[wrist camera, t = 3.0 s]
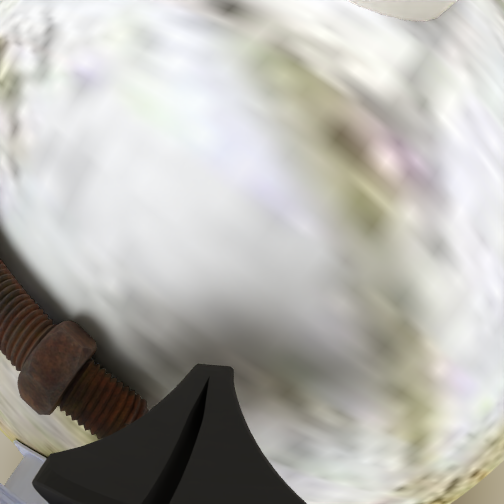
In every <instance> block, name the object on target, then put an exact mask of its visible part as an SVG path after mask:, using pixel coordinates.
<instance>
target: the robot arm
mask: <svg viewBox="0 0 504 504" xmlns="http://www.w3.org/2000/svg"><path fill="white" fill-rule="evenodd" d="M13 442H14V444H15V445H16V447H17V448H18V449H19V451H20V452H21V454H22V455H23V456H24V458H23V459H22V461H21V462H20V464H19V465H18V466H17V468H16V469H15V471H14V472H13V473H12V475H11V476H10V478H9V479H8V481H7V482H6V483H5V485H2V484H1V483H0V504H307V503H306V502H305V501H304V500H302V499H301V498H300V497H299V496H298V495H297V494H296V493H295V492H294V491H293V490H292V489H291V488H290V487H289V486H288V485H287V484H286V482H285V481H284V480H283V479H282V478H281V477H280V476H279V474H278V473H277V472H276V471H275V469H274V468H273V467H272V465H271V464H270V463H269V461H268V460H267V458H266V457H265V456H264V454H263V453H262V451H261V449H260V448H259V446H258V445H257V443H256V441H255V439H254V437H253V436H252V434H251V432H250V430H249V428H248V426H247V423H246V421H245V419H244V416H243V414H242V411H241V408H240V405H239V402H238V399H237V396H236V392H235V387H234V369H233V368H232V367H229V366H217V365H206V364H197V365H196V366H195V367H194V368H193V369H192V370H191V371H190V373H189V374H188V375H187V376H186V377H185V378H184V379H183V380H182V381H181V382H180V384H179V385H178V386H177V387H176V388H175V389H174V390H172V391H171V392H170V393H169V394H168V395H167V396H166V397H165V398H164V399H163V400H162V401H161V402H159V403H158V404H157V405H156V406H155V407H153V408H152V409H151V410H150V411H148V412H147V413H146V414H144V415H143V416H142V417H140V418H139V419H137V420H136V421H134V422H133V423H131V424H129V425H128V426H126V427H124V428H123V429H121V430H119V431H117V432H115V433H113V434H111V435H109V436H107V437H105V438H102V439H100V440H98V441H95V442H93V443H90V444H87V445H84V446H81V447H78V448H74V449H70V450H66V451H62V452H57V453H52V454H50V455H49V457H48V458H45V457H44V456H42V455H40V454H38V453H36V452H35V451H33V450H31V449H30V448H28V447H26V446H25V445H23V444H22V443H20V442H18V441H17V440H14V441H13Z"/></svg>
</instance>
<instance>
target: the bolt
mask: <svg viewBox="0 0 504 504" xmlns="http://www.w3.org/2000/svg"><path fill="white" fill-rule="evenodd" d="M0 350H1V351H2V353H3V354H4V355H6V358H7V359H8V360H11V364H12V365H13V366H16V370H17V371H21V372H20V374H19V378H18V389H19V393H20V396H21V398H22V399H23V400H24V401H25V402H26V403H27V404H28V405H29V406H30V407H31V408H32V409H34V410H35V411H36V412H37V413H38V414H41V415H50V414H51V413H52V412H53V411H54V410H55V409H56V407H57V406H60V411H66V416H68V415H71V417H72V420H78V425H83V424H84V428H85V430H89V429H90V431H91V434H92V435H94V434H96V435H97V438H98V439H101V438H105V437H107V436H109V435H111V434H113V433H115V432H117V431H119V430H121V429H123V428H124V427H126V426H128V425H129V424H131V423H133V422H134V421H136V420H137V419H139V418H140V417H142V416H143V415H144V414H146V413H147V412H148V409H147V403H146V400H145V399H141V397H140V395H139V394H137V395H135V391H134V390H132V391H129V387H123V382H118V383H117V377H116V378H112V377H111V373H107V374H106V371H105V368H104V369H100V364H94V359H91V358H92V356H93V355H94V353H95V352H96V350H97V345H96V341H95V340H94V339H93V338H92V337H91V336H90V335H89V334H88V333H87V332H85V331H84V330H83V329H82V328H81V327H80V326H79V325H78V324H77V323H76V322H73V321H63V322H61V323H60V324H58V325H57V324H54V325H53V321H52V319H49V320H48V315H47V314H43V310H42V309H39V306H38V304H35V301H34V300H33V299H31V296H30V295H28V294H27V292H26V290H24V289H23V288H22V286H21V285H20V284H19V283H18V281H17V280H16V279H15V277H14V276H13V275H12V274H11V272H10V271H9V270H8V269H7V267H6V265H4V263H3V261H1V259H0Z"/></svg>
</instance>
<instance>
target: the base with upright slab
mask: <svg viewBox="0 0 504 504" xmlns="http://www.w3.org/2000/svg"><path fill="white" fill-rule="evenodd" d="M347 1H349V2H351V3H353V4H355V5H357V6H360V7H363V8H366V9H368V10H371V11H374V12H377V13H379V14H382V15H385V16H390V17H394V18H398V19H402V20H406V21H423V22H424V21H428V20H432V19H436V18H438V17H439V16H440V15H441V14H442V13H444V12H445V11H446V10H447V9H448V8H450V7H451V6H452V5H453V4H454V3H456V2H457V1H458V0H347Z"/></svg>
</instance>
